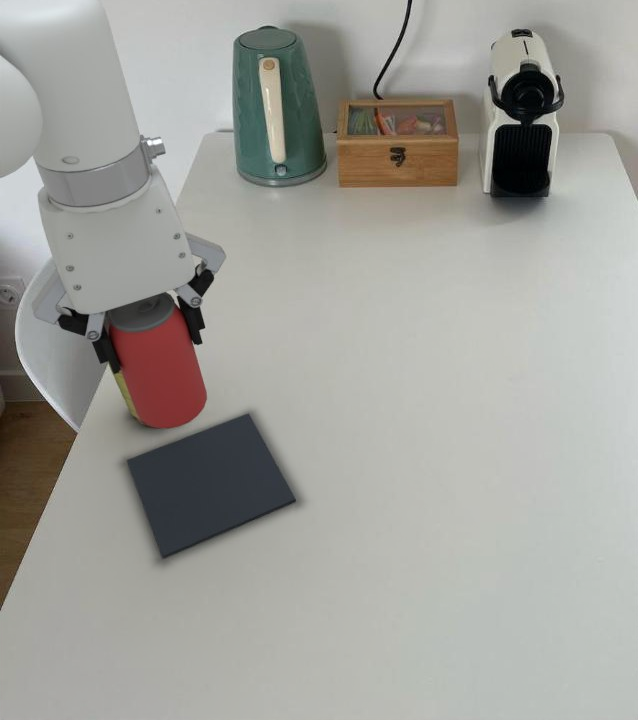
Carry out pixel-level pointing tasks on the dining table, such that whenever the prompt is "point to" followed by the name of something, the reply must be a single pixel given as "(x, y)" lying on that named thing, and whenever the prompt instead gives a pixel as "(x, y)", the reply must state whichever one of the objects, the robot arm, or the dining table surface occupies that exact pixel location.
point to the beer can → (158, 361)
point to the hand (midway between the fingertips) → (154, 348)
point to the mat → (208, 484)
